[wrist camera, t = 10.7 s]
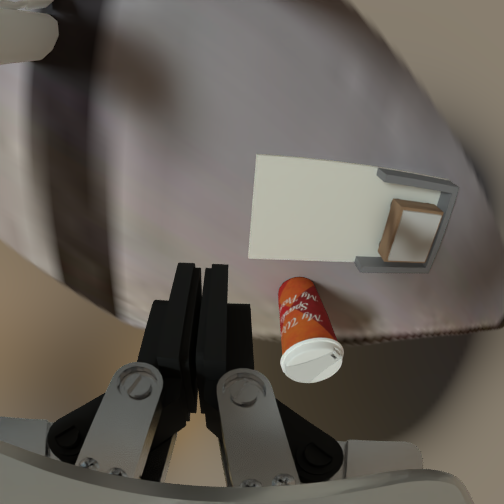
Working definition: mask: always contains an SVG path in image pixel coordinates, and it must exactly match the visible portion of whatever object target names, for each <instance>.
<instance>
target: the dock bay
mask: <svg viewBox="0 0 504 504" xmlns="http://www.w3.org/2000/svg"><path fill="white" fill-rule="evenodd" d="M458 190H459V187H458V186H456V185H455V184H453V183H452V182H451V181H449V180H448V179H443V178H439V177H434V176H429V175H423V174H418V173H413V172H407V171H401V170H396V169H389V168H383V167H377V166H370V165H363V164H356V163H348V162H340V161H332V160H323V159H314V158H304V157H293V156H281V155H267V154H256V166H255V178H254V190H253V202H252V215H251V227H250V240H249V252H248V258H250V259H278V260H307V261H337V262H354V263H355V264H356V266H357V268H358V270H359V272H362V273H429V271H430V269H431V266H432V264H433V261H434V259H435V256H436V254H437V251H438V249H439V246H440V243H441V241H442V238H443V235H444V233H445V230H446V227H447V224H448V221H449V218H450V215H451V212H452V209H453V206H454V203H455V200H456V197H457V193H458ZM393 198H394V199H401V200H409V201H416V202H422V203H430V204H435V205H436V206H437V207H438V208H439V209H440V210H441V211H443V212H444V213H443V216H442V219H441V222H440V224H439V227H438V230H437V233H436V236H435V238H434V241H433V244H432V246H431V249H430V252H429V254H428V257H427V259H426V262H425V263H407V262H384V261H383V259H382V258H381V256H380V254H379V253H378V248H379V242H380V241H381V239H382V235H383V232H384V229H385V225H386V222H387V218H388V215H389V211H390V204H391V202H392V200H393Z"/></svg>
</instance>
